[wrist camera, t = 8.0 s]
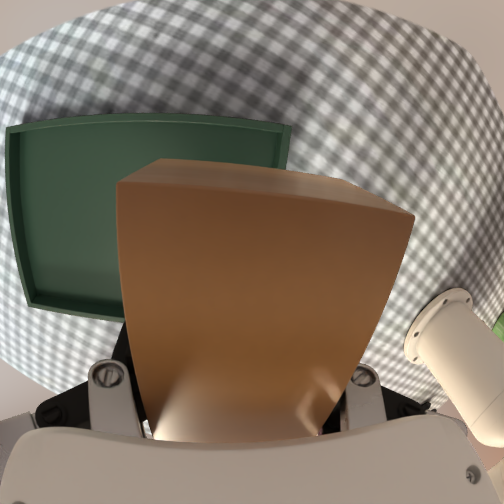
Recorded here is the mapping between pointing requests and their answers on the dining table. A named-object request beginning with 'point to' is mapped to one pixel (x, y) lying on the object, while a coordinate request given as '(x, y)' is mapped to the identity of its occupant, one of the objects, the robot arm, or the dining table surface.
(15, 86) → the dining table surface
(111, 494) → the robot arm
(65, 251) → the tray
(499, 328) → the ramekin
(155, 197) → the tan wooden block
